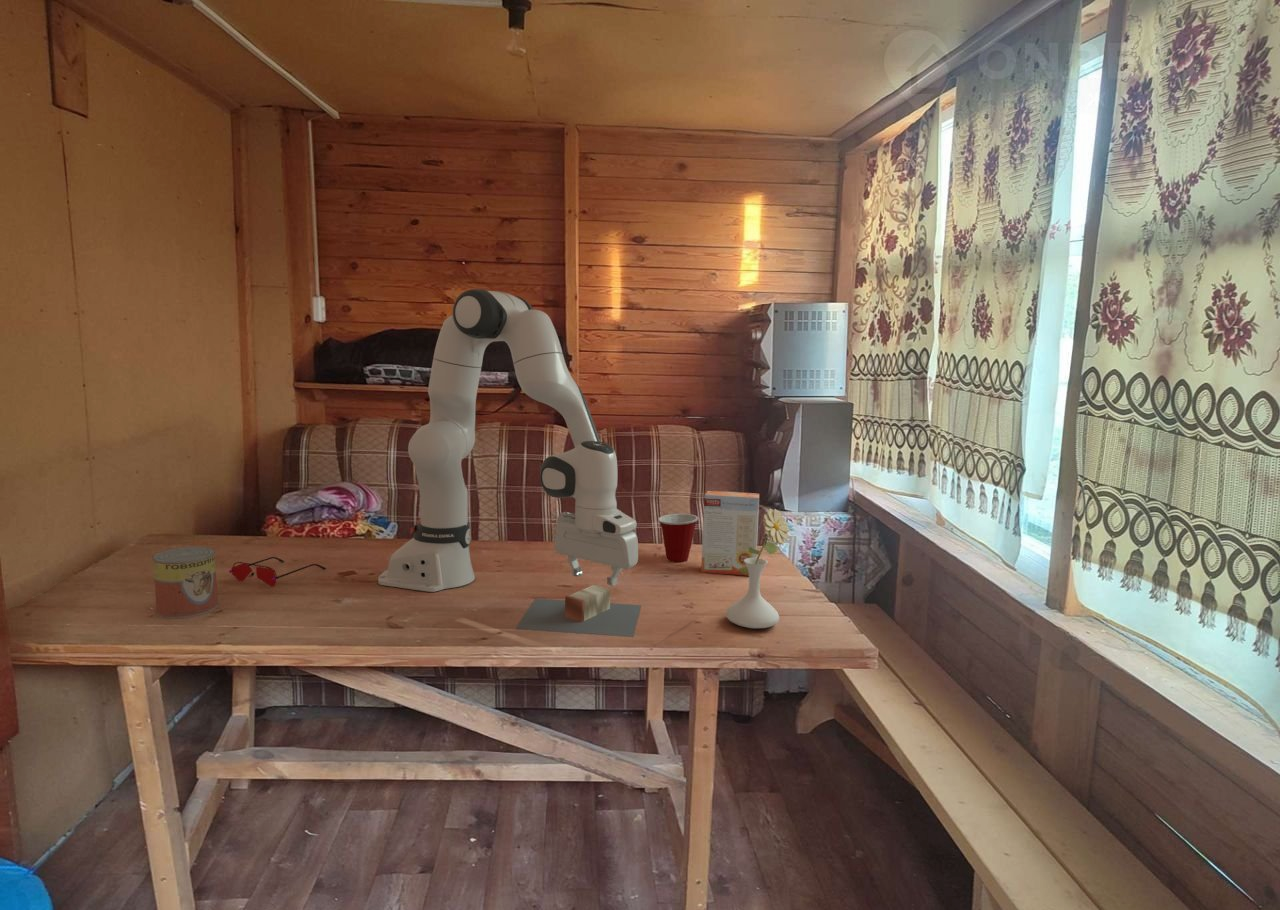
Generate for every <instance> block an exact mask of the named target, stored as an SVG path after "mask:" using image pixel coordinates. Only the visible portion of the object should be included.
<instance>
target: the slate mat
mask: <svg viewBox="0 0 1280 910" xmlns="http://www.w3.org/2000/svg"><path fill="white" fill-rule="evenodd" d="M641 609H642V604H641V605H640V604H630V603H629V604H628V603H615V602H614V603H611V602H610V609H608V610H606V611H604V612H602V613H600V614H598V615H596V616H594V617H591V618H589V619H587V620H585V621H583V622H579V621H576V620H573V619H569V618H566V617H565V599H551V598H550V599H549V598H537V597H536V598H535V599H534V600H533V602H532V603H531V605H530V606H529V608H528V609H527V611H526V612H525V613H524V615H523V616H522V618H521V620H520V621H519V623H518V624H517V626H516V627H515V630H524V631H537V632H538V631H539V632H556V633H569V634H571V633H572V634H583V635H599V636H601V635H602V636H612V637H613V636H615V637H628V638H629V637H630V638H634V635H635V631H636V629H637V624H638V620H639V618H640V617H639V616H640V613H641V612H640V611H641Z"/></svg>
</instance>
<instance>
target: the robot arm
mask: <svg viewBox="0 0 1280 910" xmlns="http://www.w3.org/2000/svg"><path fill="white" fill-rule="evenodd" d="M436 340H437V341H436V345H435V347H434V353H433V357H432V358H433V359H432V364H431V369H430V376H429V382H428V387H427V393H428V396H429V405H430V406H429V407H430V408H429V409H430V416H429V422H428V423H427V424H424V425H422V426H420V427H419V428H418V429H417V430H416V431H415V433H413V435H412V436H411V437H410V439H409V442H408V445H407V451H408V457H409V459H410V461H411V462H412V463H413V466H414V470H415V474H416V480H417V484H418V488H419V489H418V490H419V505H420V507H419V511H420V512H419V513H420V515H419V517H420V519H419V520H418V521H417V522H416V524H414V525H413V526H412V527H411V528H410V530H411V531H410V534H412V535H413V537H412V538H411V539H409V540H408V541H407V542H405V543H404V544H403V545H402V546H400V547H398V549H396V550H395V551H394V552H393V553H392V554H391V556H390V558H389V560H388V561H389V562H388V567H387V569H386V570H384V571H383V572H382V573H380V575H379V576H378V578H377V583H378V585H379V586H384V587H385V586H387V587H393V588H394V587H395V588H399V589H406V590H407V589H408V590H415V591H421V592H428V593H429V592H430V593H433V592H438V591H442V590H446V589H452V588H458V587H462V586H466V585H468V584H470V583H472V582H473V581H475V579H476V576H475V575H476V574H475V573H474V572H475V571H474V570H473V564H472V560H471V555H470V545H471V526H470V521H469V514H468V513H469V509H468V508H469V498H468V495H469V493H468V492H469V491H468V488H467V486H466V483H465V479H464V476H463V475H464V474H463V469H462V461H463V460H464V459H465V458H467V457H468V456H469V455H470V454H471V452H472V450H473V448H474V447H475V446H474V445H475V444H476V443H475V442H476V433H475V431H476V406H477V405H476V403H477V402H476V401H477V396H478V390H479V389H478V388H479V383H480V380H481V379H480V378H481V377H480V376H481V374H482V373H481V372H482V367H483V359H484V354H485V351H486V348H487V347H488V346H489V345H490V344H491V343H493V342H494V343H496V344H499V345H500V344H501V345H502V344H507V346H508V348H509V350H510V354H511V358H512V362H513V368H514V372H515V377H516V380H517V383H518V384H519V387H520V388H521V389H520V390H522V392H524V394H526V396H528V397H529V398H531V399H533V400H534V401H537V402H539V403H542V404H545V405H547V406H549V407H551V408H553V409H554V410H556V411H557V412H558V413H559V414H560V415H561V416H562V417H563V419H564V421H565V424H566V426H567V429H568V432H569V434H570V437H571V440H572V441H571V442H572V443H573V445H574V448H572V449H569V450H567V451H564V452H559V453H556V454H553V455H551V456H548V457H546V458H545V459H544V460H543V462H542V463H541V465H540V467H539V468H540V469H539V481H540V485H541V487H542V489H543V490H544V492H545V493H546V494H547V495H548V496H550V497H551V498H557V499H558V498H559V499H564V498H565V499H566V498H573V499H574V500H575V503H574V505H575V507H574V509H575V510H574V513H571V512H567V511H563V512H561V513H559V515H558V516H557V519H556V529H555V535H554V544H553V545H554V546H553V547H554V550H555V552H556V553H557V554H559V555H562V556H563V555H565V556H567V561H568V563H569V566H570V568H571V576H572V577H576V578H579V577H582V575H583V567H581V566H580V564H579V561H578V560H579V559H581V560H585V561H590V562H593V563H599V564H602V565H605V566H610V569H611V571H612V573H611V574H610V575H609V576H607V577H606V585H607V586H611V587H614V586H616V585H617V584H618V577H619V575H620V574H621V573H622V570H629V569H631V568H633V567H635V566H636V565H637V563H638V561H639V543H638V542H639V541H638V540H639V539H638V536H637V534H636V533H635V531H634V530H636V529H637V525H638V524H637V521H636V519H634V518H633V517H631V516H629V515H627V514H625V513H624V512H623V511H621V510H620V509H618V508H617V507H618V502H617V497H616V491H617V488H618V478H619V477H618V474H619V473H618V470H619V469H618V459H617V458H618V457H617V455H616V451H615V449H614V448H613V446H611V444H608V443H605V442H602V441H601V439H600V437H599V434H598V431H597V428H596V425H595V423H594V422H595V421H594V420H593V417H592V414H591V411H590V408H589V406H588V403H587V400H586V398H585V395H584V393H583V391H582V389H581V387H580V386H579V385H578V384H577V383H576V381H575V380H574V379H573V377H572V375H571V373H570V371H569V368H568V367H567V364H566V360H565V357H564V353H563V349H562V346H561V342H560V339H559V337H558V334H557V330H556V328H555V326H554V324H553V322H552V320H551V318H550V316H549V315H548V314H547V312H544V311H542V310H538V309H534V307H533V306H532V305H531V304H530V303H529V302H528V301H527V300H525V299H524V298H522V297H520V296H519V295H518V296H517V295H513V294H510V293H507V292H503V291H493V290H486V289H482V288H475V289H469V290H466V291H463V292H462V293H460V295H458V297H457V298H456V299H455V301H454V303H453V306H452V315H449V316H448V317H447V318H445V320H444V321H443V324H442V326H441V328H440V331H439V334H438V338H437V339H436Z"/></svg>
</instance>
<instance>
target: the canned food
mask: <svg viewBox="0 0 1280 910" xmlns="http://www.w3.org/2000/svg"><path fill="white" fill-rule="evenodd" d="M215 553H216V550H215V549H214V548H212V547H208V546H198V545H197V546H185V547H184V546H183V547H176V548H170V549H166V550H163V551H159V552H156V553H155V554H154V555H153V556H152V557H151V558H152V565H153V579H154V581H153V582H154V590H155V591H154V592H155V593H154V594H155V606H156V612H155V613H156V615H157V616H158V617H161V618H162V619H163V618H164V619H185V618H193V617H197V616H201V615H205V614H208V613H210V612H212V611H215V609H217V608H218V607H219V602H218V601H219V600H218V588H217V572H216V570H217V569H216V568H217V567H216V554H215Z"/></svg>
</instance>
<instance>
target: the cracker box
mask: <svg viewBox="0 0 1280 910" xmlns="http://www.w3.org/2000/svg"><path fill="white" fill-rule="evenodd" d="M703 497H704V498H703V499H704V500H703V519H702V520H703V523H702V544H701V547H702V548H701V572H702V573H705V572H706V573H709V574H721V575H734V576H746V577H747V576H748V577H749V572H748V568H747V566H746V564H745V562H744V559H747V558H757V557H758V554H754V553H751V552H749V547H751V548H753V549H755V550H758V535H759V534H758V533H759V531H758V530H759V513H760V511H759V510H760V509H759V508H760V493H756V492H755V493H754V492H753V493H752V492H739V491H738V492H736V491H722V490H721V491H720V490H706V491H705V494H704V496H703Z"/></svg>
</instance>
